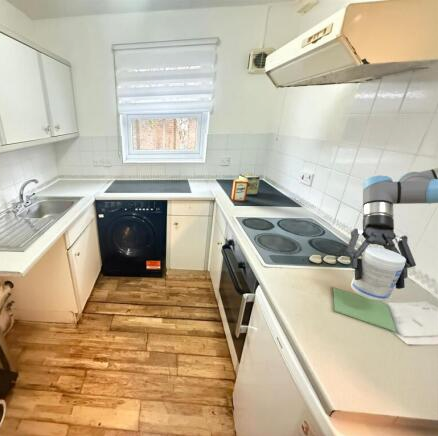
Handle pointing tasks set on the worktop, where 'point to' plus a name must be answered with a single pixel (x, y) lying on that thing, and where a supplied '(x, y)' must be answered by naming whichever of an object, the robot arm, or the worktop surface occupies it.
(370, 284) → the supplement tub
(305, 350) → the worktop surface
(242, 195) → the baking soda box
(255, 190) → the protein box
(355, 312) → the mat
